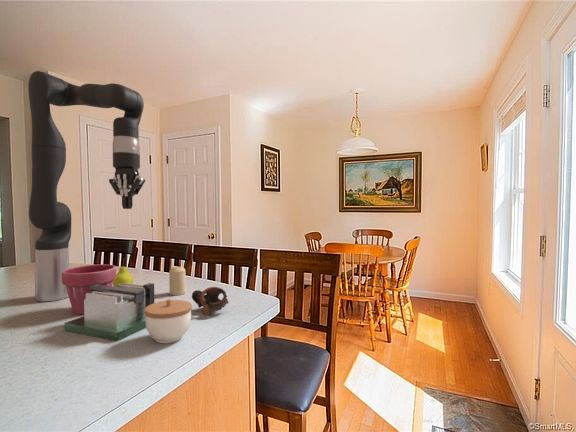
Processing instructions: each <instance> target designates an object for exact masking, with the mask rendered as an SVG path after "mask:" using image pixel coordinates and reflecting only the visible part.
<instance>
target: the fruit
mask: <svg viewBox="0 0 576 432" xmlns="http://www.w3.org/2000/svg"><path fill="white" fill-rule="evenodd" d="M124 263H125V257H123V260H122V264H121V265H122V266H120V268H119V270H118V272H117V273H116V278H115V279H114V280H113V284H112V286H115V287H117V285H122V283H128V284H134V276H133V275H132V274H131V273H130V272H128V268H127V267H126V266H124Z"/></svg>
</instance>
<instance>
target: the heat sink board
mask: <svg viewBox="0 0 576 432" xmlns="http://www.w3.org/2000/svg"><path fill="white" fill-rule="evenodd" d="M117 287H122V288H129V289H137V290H144V301H142V302H140V303H137V304H135V303H134V296H133V295H126V294H119V293H112V292H107V293H104V292H103V291H98V290H89V291H88V293H86V299H84V314H83V316H80V317H78V318H74V319H71V320H69V321H66V322H64V331H66V332H71V333H74V334H81V335H85V336H91V337H95V338H99V339H105V340H109V341H115V342H119V341H121V340H123V339H125V338H127V337H129V336H131V335H134V334H136V333H138V332H140V331H142V330H144V329H147V328H146V322H145V312H144V310H145V308H146V307H147V306H149V305H151V304H153V303H155V283H151V282H149V283H145V284H135V283H133V284H128V283H122V285H117Z"/></svg>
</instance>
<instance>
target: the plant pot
mask: <svg viewBox="0 0 576 432" xmlns="http://www.w3.org/2000/svg"><path fill="white" fill-rule="evenodd" d="M116 275H117V268H116V265H114V264H108V263H107V264H106V263H105V264H89V265H80V266H74V267H69V269H66V270H63V271H62V284H63V285H66V289H67V293H68V296H69V297H68V299H69V303H70V305H71V306H70V307H71V310H72V313H74V314H76V315H84V299H86V293H88V291H89V290H91V289H90V286H93V285H97V284H101V285H107V286H113V280H114V279H115V278H116ZM103 292H104V293H107V292H105V291H103Z"/></svg>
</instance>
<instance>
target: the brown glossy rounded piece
mask: <svg viewBox="0 0 576 432" xmlns="http://www.w3.org/2000/svg"><path fill="white" fill-rule="evenodd" d="M220 295H223V297H222V299H221V298H220V297H219V296H220ZM191 299H192V300H193V302H194V303H195V304H197V306H198V309H199V308H203V309H202V311H201V313H202V315H204V317H205V316H206V317H207V316H208V315H209V314H212V313H215V312H218V311H221V310H222V309H223V308H225V306H226V305H227V304H230V302H229V299H228V295H227V293H226V290H224V289H223V288H221V287H218V286H211V287H207V288H205V289H204V290H203V291H202V290H199V289H198V290H197V289H196V290H193V292H192V293H191Z"/></svg>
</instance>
